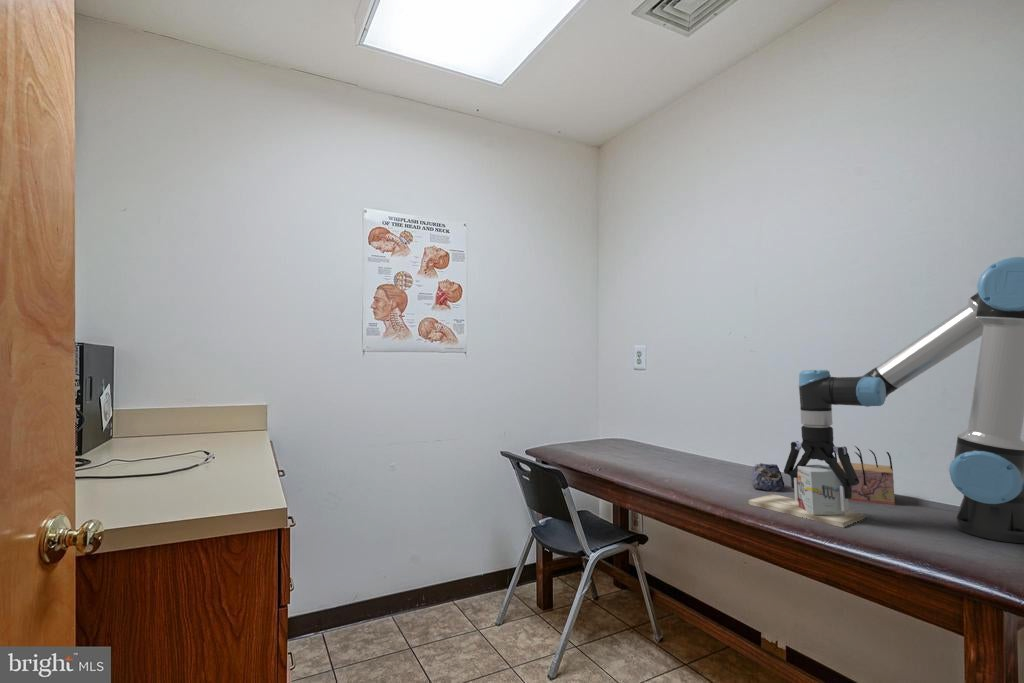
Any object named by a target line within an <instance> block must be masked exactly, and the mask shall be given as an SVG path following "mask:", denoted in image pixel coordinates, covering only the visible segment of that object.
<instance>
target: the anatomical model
mask: <svg viewBox="0 0 1024 683" xmlns="http://www.w3.org/2000/svg"><path fill="white" fill-rule="evenodd" d="M854 447H855V448H856V449H857V450H858V452H859V453H858V452H856V451H854V454H856V455H857V456H858V458H859V460H860V463H859V462H858V463H857V462H855V463H854V462H851V464H852V466H853V468H854V471H855V473H856V475H857V477H858V480H859V484H856V485H852V487H851V489H852V497H851V498H850V499H849V501H852V502H862V503H871V504H879V505H890V506H896V504H895V501H896V500H895V486H894V484H895V483H894V482H895V481H894V471H893V470H894V469H893V462H892V457H891V454H890V453H889V452H888V451H886V454H887V456H888V458H889V465H883V464H878V461H877V460H878V459H877V457H876V454H875V452H874V451H872V450H871V449H869V448H868V449H867V450H869V451H870V452H871V454H872V455H873V456H874V460H875V464H870V463H864V461H863V455H862V451H861V450H860V449H859V448H858V447H857V446H856V445H854ZM833 455H834V457H835V458H836V461H837V463H838V464H839V465H840V467H841V468H842V469H843V466H842V464H841V462H840V461H838V455H837V454H836V452H835V451H834V452H833ZM847 455H848V457H849V460H850V461H851V458H850V455H849V453H848V452H847ZM843 471H844V469H843ZM844 472H845V471H844ZM845 474H846V473H845Z"/></svg>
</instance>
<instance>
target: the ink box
mask: <svg viewBox="0 0 1024 683" xmlns="http://www.w3.org/2000/svg"><path fill="white" fill-rule="evenodd" d="M797 475H798V499H799V507H801V508H803V509H804V510H806V511H808V512H809V513H811V514H813V515H845V511H841V502H840V486H841V485H843V484H842V483H841V482H840V480H839V479H838V477H837V476H836V475H835V473H834V472H833V470H832V469H831V468H830V466H829V465H828V464H806V465H804V466H798V472H797Z"/></svg>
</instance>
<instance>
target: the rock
mask: <svg viewBox="0 0 1024 683" xmlns="http://www.w3.org/2000/svg"><path fill="white" fill-rule="evenodd" d="M751 469H752V470H751V473H750V474H751V475H750V476H751V477H750V482H751V486H752V487H753V488H755V489H759V490H764V491H767V492H778V491H780V490H782V489H783V488H785V482H784V478H783V475H782V472H781V471H780V468H779V466H778V464H773V463H770V464H769V463H763V462H760V463H757V464H754V466H752V467H751Z"/></svg>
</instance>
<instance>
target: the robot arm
mask: <svg viewBox="0 0 1024 683" xmlns="http://www.w3.org/2000/svg"><path fill="white" fill-rule="evenodd" d="M976 284H977V285H976V289H977V292H976V293H975V294H973V295H972V296H971V297H969V298H968V303H967V304H966V305H965V306H964V307H963V308H961V309H959V310H957V312H955V313H954V314H952V315H950V316H949V317H948V318H945V319H944V320H943V321H942V322H940V323H939V324H937V325H936V326H934V327H933V328H931V329H930V330H928V331H927V332H926V333H924V334H923V335H921V336H919V337H918V338H917V339H915V340H914V341H912V342H911V343H909V344H907V346H905V347H904V348H902V349H901V350H899V351H897V352H896V353H895V354H892V356H889V357H888V358H887V359H886V360H884V361H883V362H881V363H880V364H879V365H877V366H876V367H874V368H872V369H871V370H869V371H868V372H867V373H865V374H864V375H860V376H846V377H845V376H841V377H839V376H837V377H836V376H831V374H830V371H829V370H828V369H806V370H801V371H799V373H798V389H799V390H798V391H799V392H798V393H799V404H800V406H799V407H800V408H799V409H800V424H801V425H802V426H801V438H802V442H800V441H799V440H796V441H792V442H791V443H790V452H789V454H788V458H787V460H786V463H785V466H784V469H783V473H784V474H785V475H787V476H790V485H791V488H792V489H794V491H793V492H794V499H795V501H797V502H798V501H799V499H798V475H797V472H798V466H804V465H808V463H809V462H810V460H817V461H822V462H823V461H824V462H825V463H826V465H828V466H830V468H831V469H832V470H833V472H834V473H835V475H836V476H837V477H838V479H839V480H840V482H841V483H842V484H843V485H841V486H840V502H841V511H847V510H848V511H850V503H849V502H850V500H849V499H850V498H851V497H852V489H851V487H852V485H856V484H859V480H858V477H857V475H856V473H855V471H854V468H853V466H852V464H851V463H852V462H851V459H850V460H849V457H850V456H849V457H848V455H847V453H848V447H847V446H835V444H834V428H833V426H832V425H833V408H832V406H834V405H835V406H854V407H855V406H859V407H861V406H862V407H867V408H869V407H881V406H883V405H885V401H886V398H887V397H888V396H889V395H890V394H892V393H893V392H895V391H896V390H898V389H900V388H901V387H902V386H904V385H905V384H908V383H909V382H910V381H912V380H914V379H915V378H917V377H919V376H920V375H921V374H923V373H925V372H926V371H928V370H929V369H931V368H932V367H934V366H936V365H938V364H939V363H940V362H942V361H944V360H945V359H946V358H949V357H950V356H952V355H953V354H955V353H956V352H958V351H961V349H963V348H965V347H966V346H967V345H969V344H971V343H973V342H974V341H975V340H977V339H979V338H981V342H980V348H979V352H978V353H979V355H978V361H977V367H976V374H975V379H974V380H975V381H974V386H973V392H972V399H971V400H972V401H971V407H970V413H969V419H968V427H967V429H966V430H964V431H962V432H960V433H959V434H957V441H956V446H955V451H954V452H955V453H954V459H953V460H951V463H950V465H949V468H948V469H949V470H948V471H949V473H948V474H949V478H950V480H951V483H952V484H953V485H954V487H955V488H956V489H957V490H958V492H960V493H961V494H962V495H963V497H962V500H961V503H960V504H959V505H960V506H959V508H958V511H957V513H956V516H955V526H956V528H957V529H958V530H959V531H962V532H963V533H966V534H969V535H972V536H974V537H979V538H982V539H988V540H993V541H998V542H1003V543H1005V542H1006V543H1013V544H1014V543H1015V544H1024V441H1023V440H1022V438H1021V436H1022V429H1023V423H1024V256H1015V257H1014V256H1013V257H1008V258H1003V259H1001V260H998V261H996V262H995V263H993V264H991V265H989V266H988V267H987V268H986V269H985V270H983V272H982V274H981V275H980V276H979V277H978V281H977V283H976ZM801 449H802V450H803V452H804V453H803V454H802V456H801V458H800V459H799V461H798V462H797V460H798V456H799V454H800V452H801V451H800V450H801ZM834 451H835V452H836V456H837V458H838V460H839V462H841V464H842V466H843V469H844V471H845V472H844V471H843V469H842V468H841V467H840V465H839V464H838V460H837V461H836V458H835V455H834ZM796 463H797V464H796ZM845 473H846V474H845Z"/></svg>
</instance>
